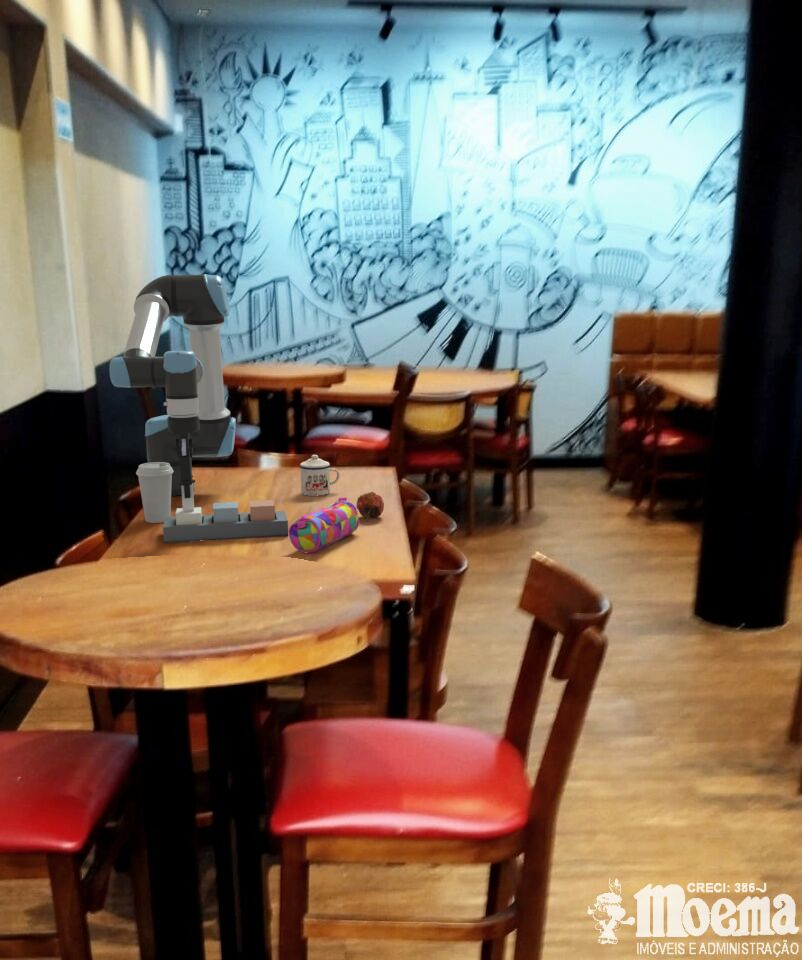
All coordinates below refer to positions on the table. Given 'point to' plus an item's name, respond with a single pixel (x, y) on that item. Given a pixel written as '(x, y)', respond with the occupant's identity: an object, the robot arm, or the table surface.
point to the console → (225, 529)
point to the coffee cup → (155, 490)
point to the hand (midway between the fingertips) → (188, 509)
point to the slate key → (225, 512)
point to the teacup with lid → (316, 476)
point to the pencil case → (324, 526)
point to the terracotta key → (262, 510)
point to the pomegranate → (370, 505)
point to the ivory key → (188, 516)
